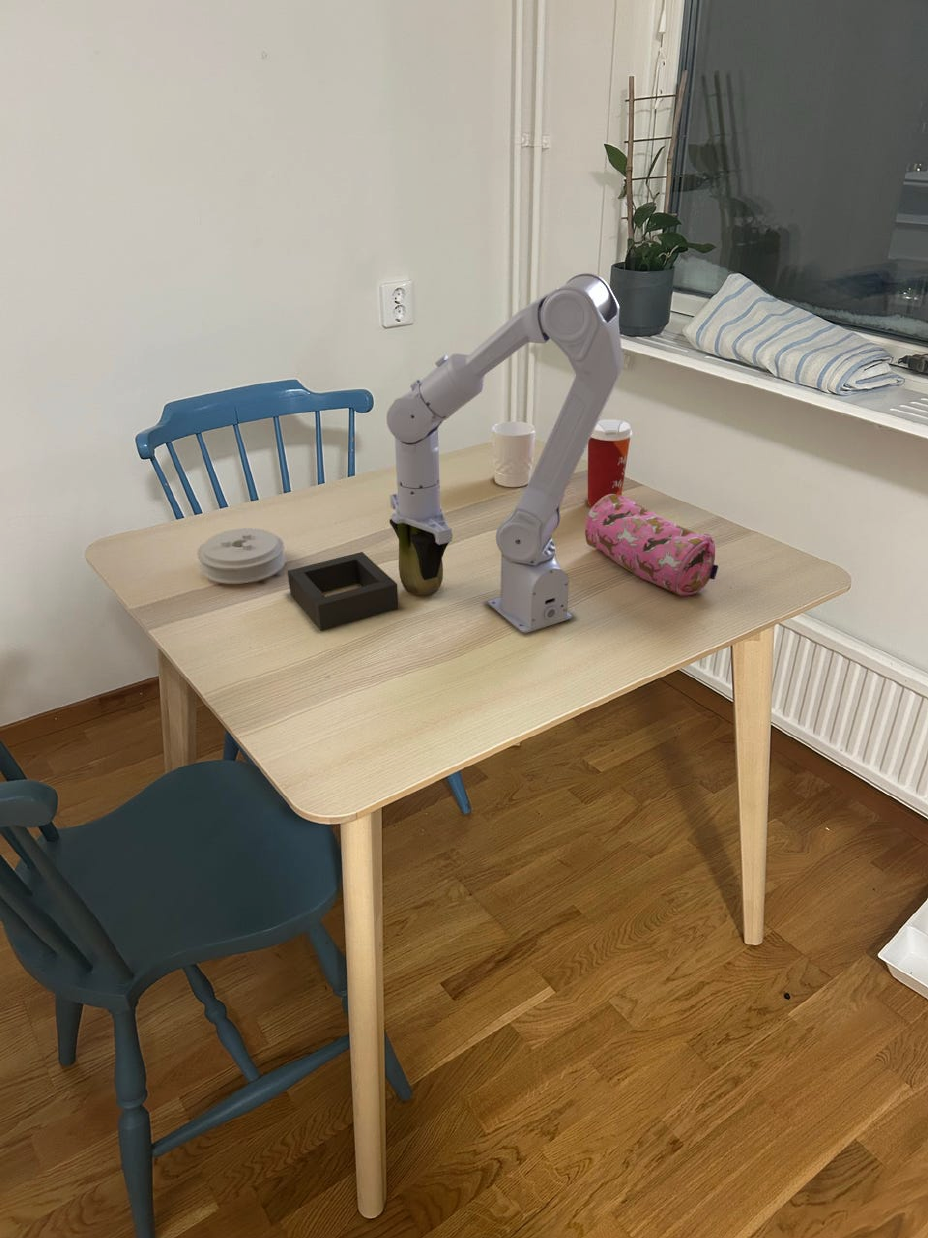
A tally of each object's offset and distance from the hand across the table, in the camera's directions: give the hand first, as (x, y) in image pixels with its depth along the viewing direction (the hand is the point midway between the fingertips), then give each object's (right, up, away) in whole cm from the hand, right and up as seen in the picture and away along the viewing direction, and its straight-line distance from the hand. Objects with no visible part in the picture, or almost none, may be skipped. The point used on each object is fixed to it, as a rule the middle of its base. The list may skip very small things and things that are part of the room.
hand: (421, 570), depth 126 cm
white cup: (+15, +19, +38) cm, 45 cm away
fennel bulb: (0, -3, +2) cm, 4 cm away
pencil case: (+33, 0, +7) cm, 34 cm away
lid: (-27, 0, +8) cm, 29 cm away
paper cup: (+30, +13, +29) cm, 44 cm away
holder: (-11, -5, -1) cm, 12 cm away
